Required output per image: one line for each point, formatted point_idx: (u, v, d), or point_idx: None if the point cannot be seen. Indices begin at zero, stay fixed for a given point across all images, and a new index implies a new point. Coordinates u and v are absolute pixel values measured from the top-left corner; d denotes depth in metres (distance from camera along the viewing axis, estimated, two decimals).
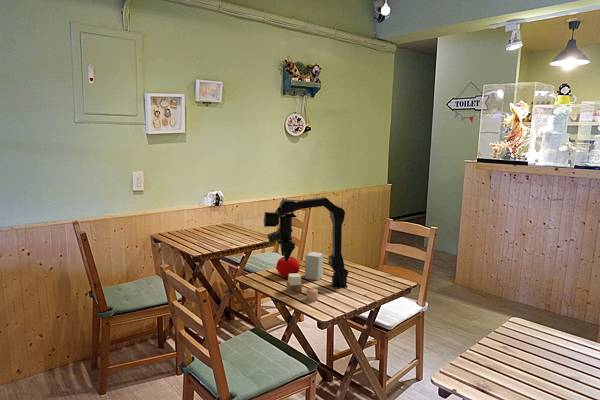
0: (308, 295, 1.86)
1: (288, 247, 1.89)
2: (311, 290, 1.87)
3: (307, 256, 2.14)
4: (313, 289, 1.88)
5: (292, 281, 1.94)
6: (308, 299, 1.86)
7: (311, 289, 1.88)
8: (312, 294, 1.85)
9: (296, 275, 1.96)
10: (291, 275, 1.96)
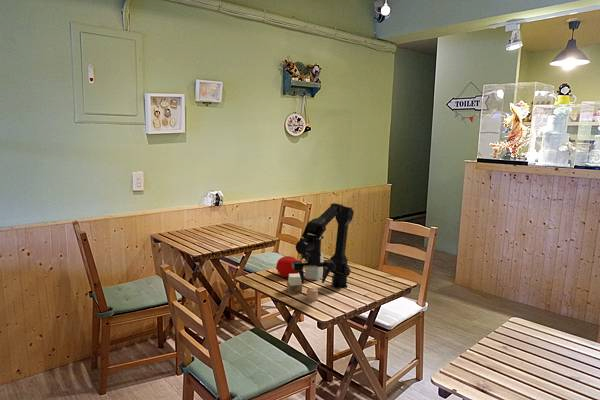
0: (308, 295, 1.86)
1: (292, 267, 1.84)
2: (311, 290, 1.87)
3: None
4: (313, 289, 1.88)
5: (292, 281, 1.94)
6: (308, 299, 1.86)
7: (311, 289, 1.88)
8: (312, 294, 1.85)
9: (296, 275, 1.96)
10: (291, 275, 1.96)
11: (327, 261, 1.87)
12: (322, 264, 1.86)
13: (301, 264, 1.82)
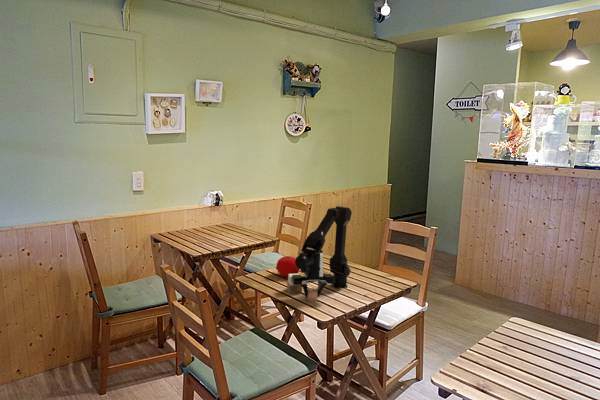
0: (308, 295, 1.86)
1: (292, 281, 1.85)
2: (311, 290, 1.87)
3: None
4: (313, 289, 1.88)
5: None
6: (308, 299, 1.86)
7: (311, 289, 1.88)
8: (312, 294, 1.85)
9: None
10: (291, 275, 1.96)
11: (326, 275, 1.88)
12: (321, 278, 1.87)
13: (300, 278, 1.83)
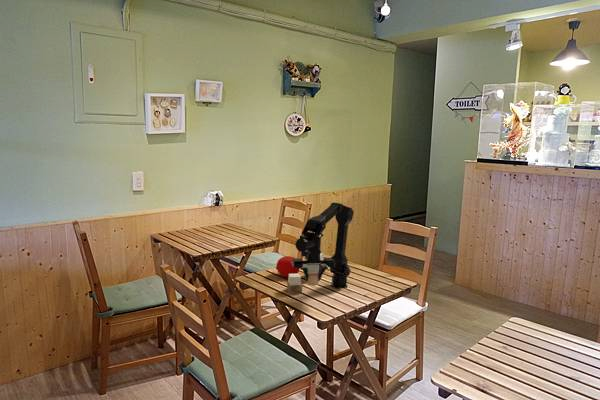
0: (309, 279, 1.85)
1: (292, 264, 1.84)
2: (312, 274, 1.86)
3: None
4: (314, 273, 1.87)
5: (292, 281, 1.94)
6: (309, 283, 1.85)
7: (312, 273, 1.87)
8: (313, 278, 1.84)
9: (296, 275, 1.96)
10: (291, 275, 1.96)
11: (327, 259, 1.86)
12: (322, 262, 1.86)
13: (301, 262, 1.82)
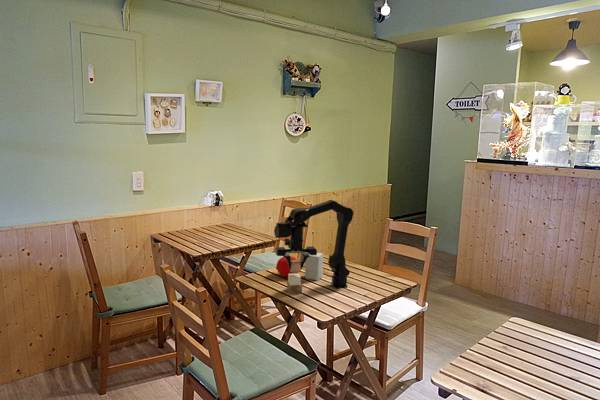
0: (291, 266, 1.93)
1: (276, 252, 1.92)
2: (294, 262, 1.95)
3: None
4: (296, 261, 1.96)
5: (292, 281, 1.94)
6: (291, 270, 1.94)
7: (294, 261, 1.96)
8: (295, 265, 1.93)
9: (296, 275, 1.96)
10: (291, 275, 1.96)
11: (309, 247, 1.95)
12: (304, 250, 1.95)
13: (284, 250, 1.90)
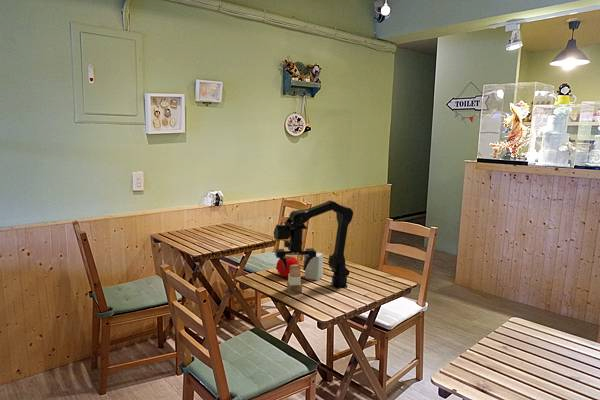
0: (291, 270, 1.94)
1: (275, 254, 1.93)
2: (294, 266, 1.95)
3: None
4: (296, 265, 1.97)
5: (292, 281, 1.94)
6: (291, 274, 1.94)
7: (294, 265, 1.96)
8: (295, 270, 1.93)
9: None
10: None
11: (308, 249, 1.96)
12: (304, 252, 1.95)
13: (283, 252, 1.91)
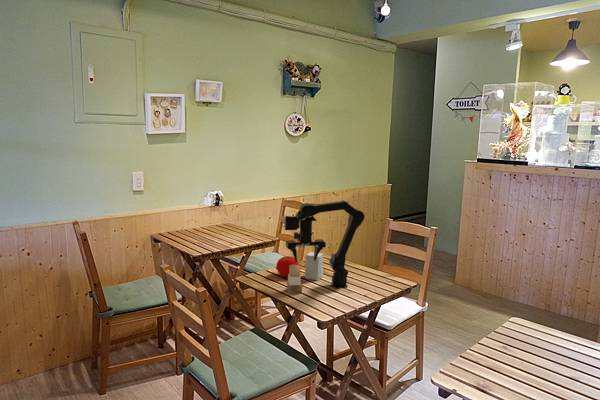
0: (291, 270, 1.94)
1: (286, 246, 1.99)
2: (294, 266, 1.95)
3: (307, 256, 2.14)
4: (296, 265, 1.96)
5: (292, 281, 1.94)
6: (291, 274, 1.94)
7: (294, 265, 1.96)
8: (294, 270, 1.93)
9: None
10: None
11: (318, 240, 2.02)
12: (313, 243, 2.02)
13: (294, 243, 1.97)
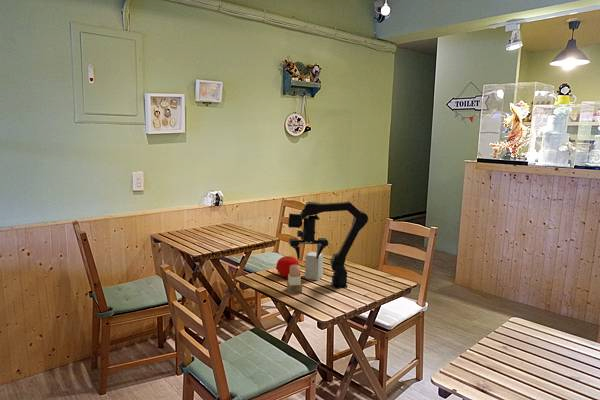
0: (291, 271, 1.94)
1: (289, 243, 2.02)
2: (294, 266, 1.95)
3: (307, 256, 2.14)
4: (296, 265, 1.97)
5: (292, 281, 1.94)
6: (291, 274, 1.94)
7: (294, 265, 1.96)
8: (295, 270, 1.93)
9: None
10: None
11: (321, 239, 2.05)
12: (316, 241, 2.04)
13: (297, 241, 2.00)
